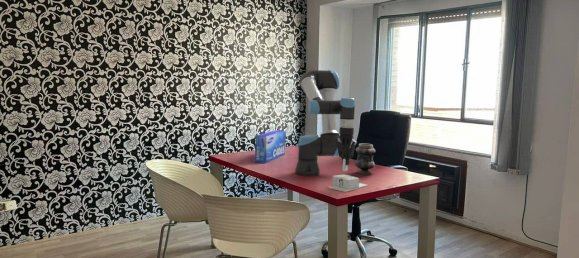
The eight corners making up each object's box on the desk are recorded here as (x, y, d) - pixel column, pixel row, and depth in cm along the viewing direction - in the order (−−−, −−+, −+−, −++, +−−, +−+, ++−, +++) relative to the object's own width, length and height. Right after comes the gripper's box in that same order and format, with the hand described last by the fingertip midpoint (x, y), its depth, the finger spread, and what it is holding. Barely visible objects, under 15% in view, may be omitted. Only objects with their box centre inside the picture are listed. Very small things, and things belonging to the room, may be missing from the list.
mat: (328, 188, 231) (328, 186, 231) (351, 182, 245) (351, 181, 245) (345, 192, 224) (345, 190, 223) (367, 185, 238) (367, 184, 238)
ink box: (344, 173, 241) (359, 177, 232) (343, 182, 242) (359, 187, 232) (332, 175, 236) (348, 179, 227) (332, 184, 236) (347, 189, 227)
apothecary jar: (378, 173, 270) (379, 144, 268) (366, 176, 262) (367, 146, 260) (362, 170, 279) (363, 142, 277) (350, 172, 270) (351, 143, 268)
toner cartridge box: (266, 163, 294) (266, 136, 292) (254, 162, 297) (254, 135, 295) (285, 154, 330) (286, 130, 328) (275, 153, 333) (275, 129, 331)
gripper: (332, 126, 234) (331, 169, 237) (352, 128, 225) (350, 173, 228) (341, 125, 240) (339, 167, 242) (361, 127, 231) (359, 171, 233)
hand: (345, 170), depth 235 cm, fingers closed
